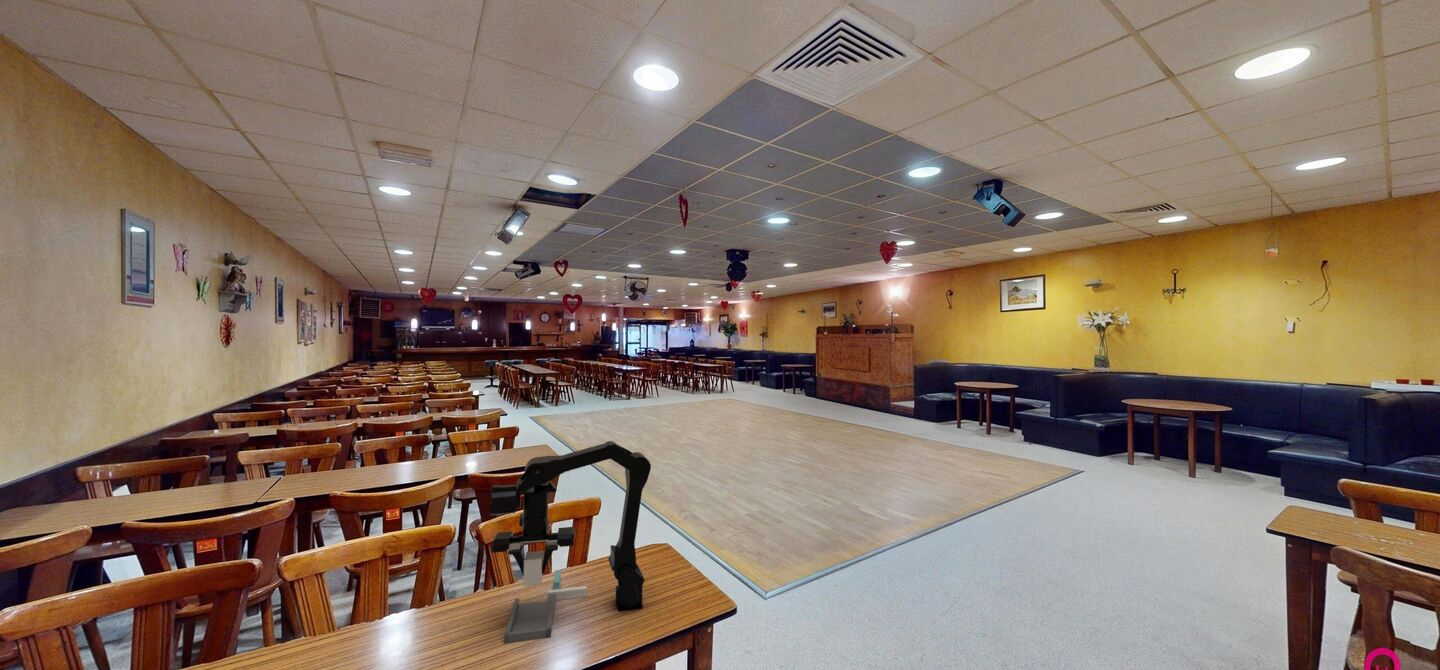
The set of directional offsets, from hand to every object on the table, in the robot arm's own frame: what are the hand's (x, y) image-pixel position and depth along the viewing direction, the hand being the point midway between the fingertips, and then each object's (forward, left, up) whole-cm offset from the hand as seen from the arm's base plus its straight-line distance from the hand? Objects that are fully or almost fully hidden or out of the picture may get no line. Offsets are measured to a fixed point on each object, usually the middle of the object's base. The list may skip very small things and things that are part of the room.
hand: (533, 574), depth 115 cm
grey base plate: (0, 0, -12) cm, 12 cm away
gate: (-8, -13, -11) cm, 19 cm away
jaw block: (0, 0, -2) cm, 2 cm away
